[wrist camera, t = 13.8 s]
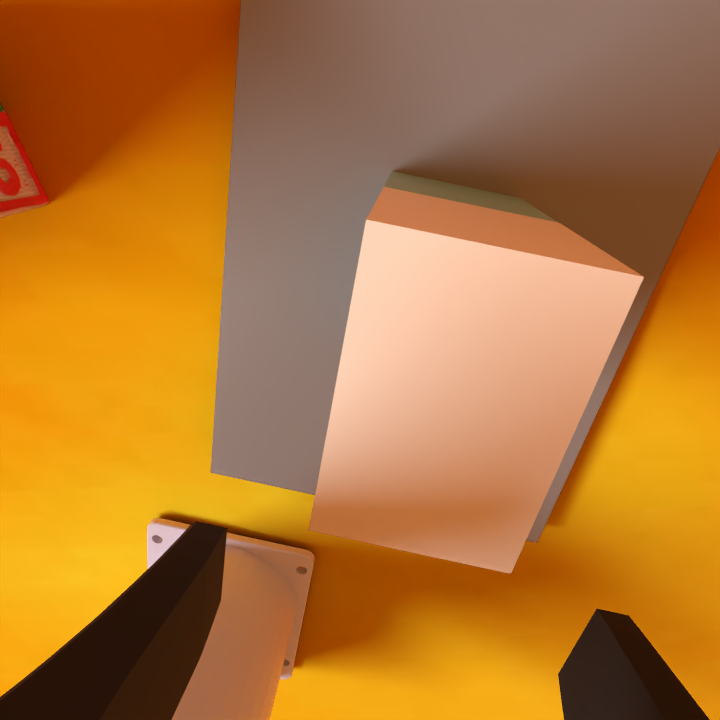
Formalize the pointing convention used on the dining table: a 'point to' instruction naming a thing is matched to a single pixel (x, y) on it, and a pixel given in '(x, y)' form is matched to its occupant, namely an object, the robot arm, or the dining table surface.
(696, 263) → the dining table surface
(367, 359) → the cream brick
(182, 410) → the dining table surface
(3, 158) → the stack of blocks
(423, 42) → the baseplate
